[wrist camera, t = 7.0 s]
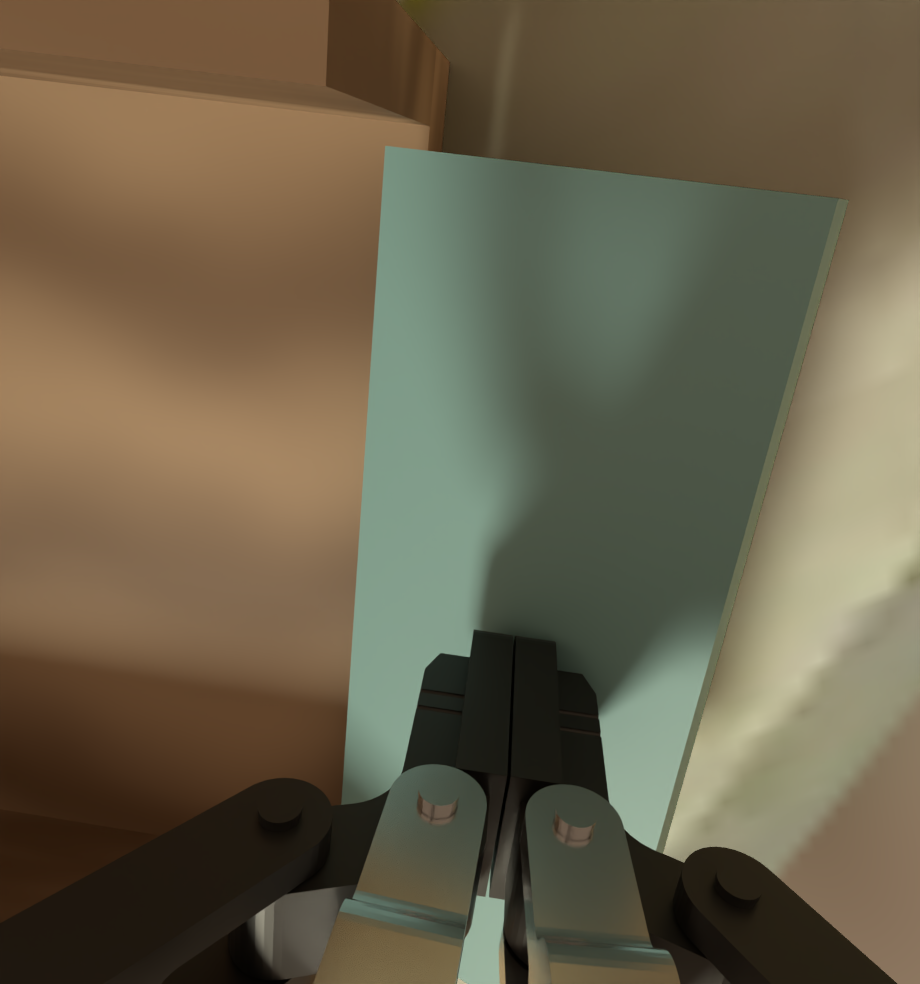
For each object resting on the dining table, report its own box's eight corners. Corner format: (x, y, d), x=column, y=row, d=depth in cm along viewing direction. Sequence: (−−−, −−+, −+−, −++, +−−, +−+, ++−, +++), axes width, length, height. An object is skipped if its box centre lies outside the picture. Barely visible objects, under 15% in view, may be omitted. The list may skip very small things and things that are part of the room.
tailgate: (384, 145, 12) (838, 198, 10) (456, 154, 14) (855, 201, 11) (335, 897, 19) (595, 1067, 16) (388, 839, 21) (630, 981, 18)
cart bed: (-247, -17, 16) (-1147, -229, 7) (449, 62, 15) (331, -72, 7) (-86, 767, 23) (-432, 1096, 15) (377, 842, 23) (282, 1231, 14)
